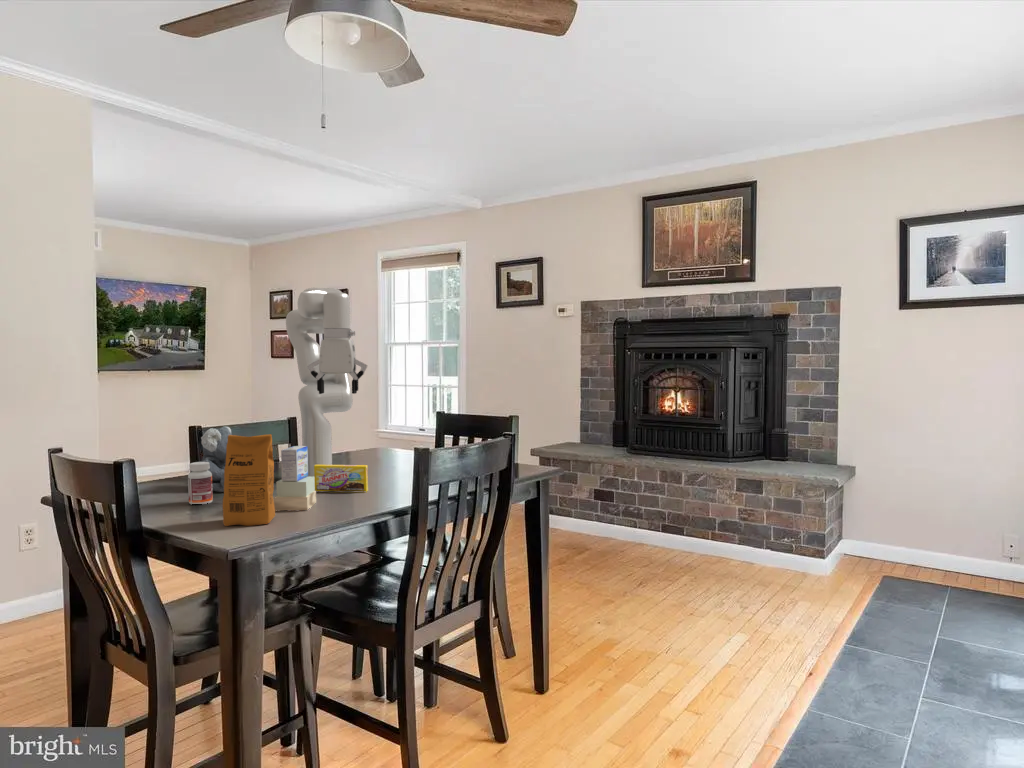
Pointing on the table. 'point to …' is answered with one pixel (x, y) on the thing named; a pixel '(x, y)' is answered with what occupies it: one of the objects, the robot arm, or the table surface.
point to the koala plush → (216, 454)
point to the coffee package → (248, 481)
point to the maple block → (295, 502)
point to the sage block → (295, 487)
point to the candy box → (341, 477)
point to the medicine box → (294, 463)
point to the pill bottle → (200, 483)
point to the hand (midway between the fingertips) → (337, 393)
